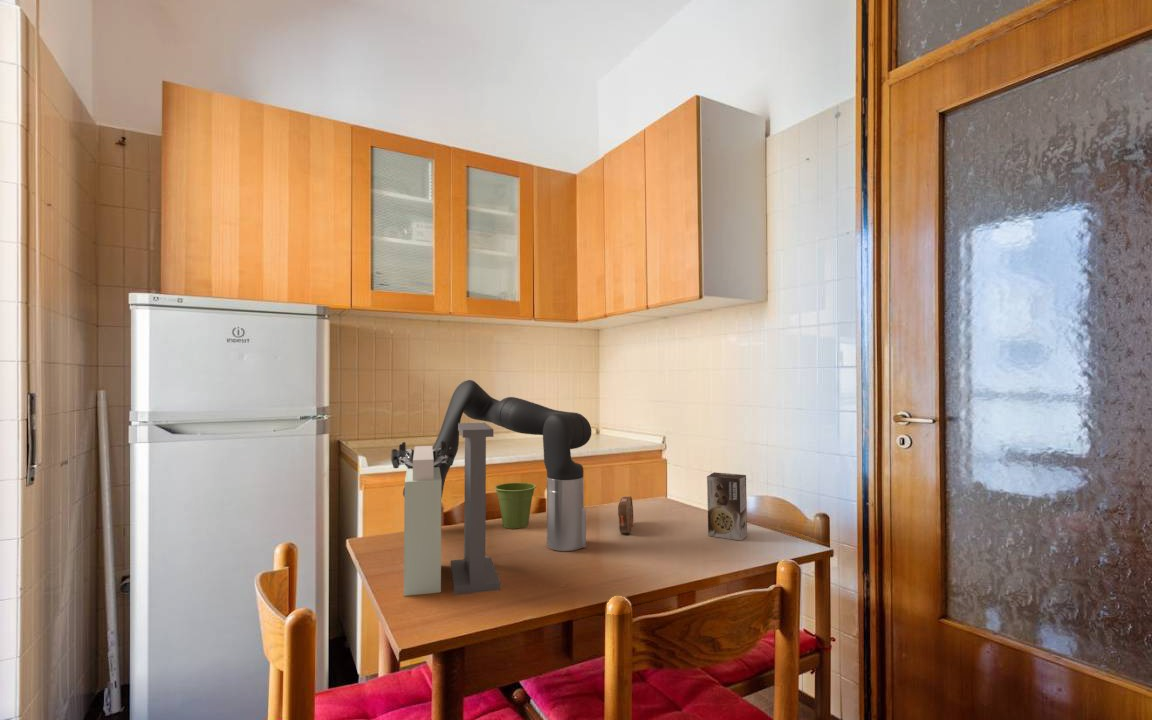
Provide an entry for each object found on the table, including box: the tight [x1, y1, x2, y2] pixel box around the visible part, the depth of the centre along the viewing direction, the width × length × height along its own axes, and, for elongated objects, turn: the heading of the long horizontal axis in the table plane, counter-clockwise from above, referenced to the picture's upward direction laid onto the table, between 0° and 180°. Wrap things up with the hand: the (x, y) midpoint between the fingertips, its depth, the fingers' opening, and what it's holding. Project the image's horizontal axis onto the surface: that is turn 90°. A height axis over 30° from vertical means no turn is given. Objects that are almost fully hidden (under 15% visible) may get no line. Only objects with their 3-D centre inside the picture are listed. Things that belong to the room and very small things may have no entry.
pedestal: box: [403, 467, 442, 597], centre depth 115 cm, size 7×16×22 cm, turn 15°
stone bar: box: [413, 445, 434, 481], centre depth 120 cm, size 4×22×4 cm, turn 15°
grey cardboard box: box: [706, 472, 748, 541], centre depth 147 cm, size 9×6×16 cm
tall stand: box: [450, 422, 501, 596], centre depth 116 cm, size 9×16×32 cm, turn 15°
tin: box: [617, 496, 634, 535], centre depth 153 cm, size 15×3×8 cm, turn 168°
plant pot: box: [494, 482, 537, 530], centre depth 156 cm, size 12×12×11 cm
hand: (423, 445), depth 124 cm, fingers open, 8 cm apart
